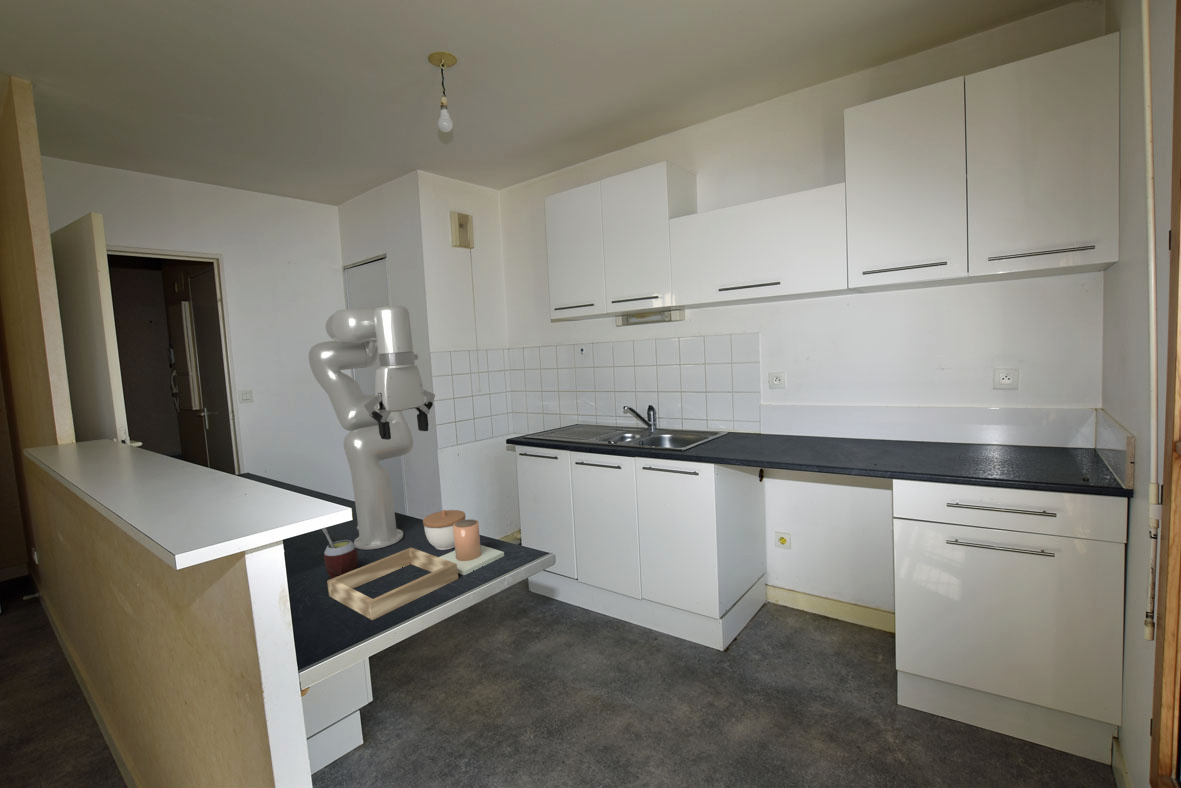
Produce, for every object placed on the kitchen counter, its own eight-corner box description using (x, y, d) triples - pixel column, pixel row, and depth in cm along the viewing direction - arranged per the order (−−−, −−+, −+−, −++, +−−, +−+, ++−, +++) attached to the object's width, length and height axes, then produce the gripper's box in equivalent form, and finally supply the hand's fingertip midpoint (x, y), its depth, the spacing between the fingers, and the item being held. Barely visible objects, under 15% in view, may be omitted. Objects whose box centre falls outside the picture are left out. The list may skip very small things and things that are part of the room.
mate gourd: (360, 567, 130) (352, 508, 129) (358, 580, 123) (350, 517, 121) (326, 574, 128) (318, 513, 126) (322, 588, 121) (313, 524, 119)
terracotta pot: (450, 557, 130) (447, 524, 129) (471, 548, 134) (468, 517, 133) (465, 562, 126) (462, 529, 125) (486, 554, 130) (483, 522, 129)
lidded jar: (457, 553, 134) (453, 517, 133) (418, 553, 137) (414, 517, 136) (474, 537, 145) (471, 503, 144) (438, 537, 147) (434, 504, 146)
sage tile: (433, 563, 129) (433, 559, 129) (473, 546, 139) (472, 542, 138) (464, 575, 122) (463, 571, 122) (504, 555, 131) (503, 552, 131)
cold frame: (329, 596, 116) (327, 580, 116) (412, 561, 132) (410, 547, 132) (372, 620, 105) (370, 603, 104) (458, 578, 120) (456, 563, 120)
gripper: (420, 358, 131) (428, 427, 133) (351, 364, 118) (361, 441, 120) (438, 357, 126) (446, 428, 128) (369, 364, 113) (379, 443, 115)
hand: (405, 434), depth 124 cm, fingers open, 9 cm apart
